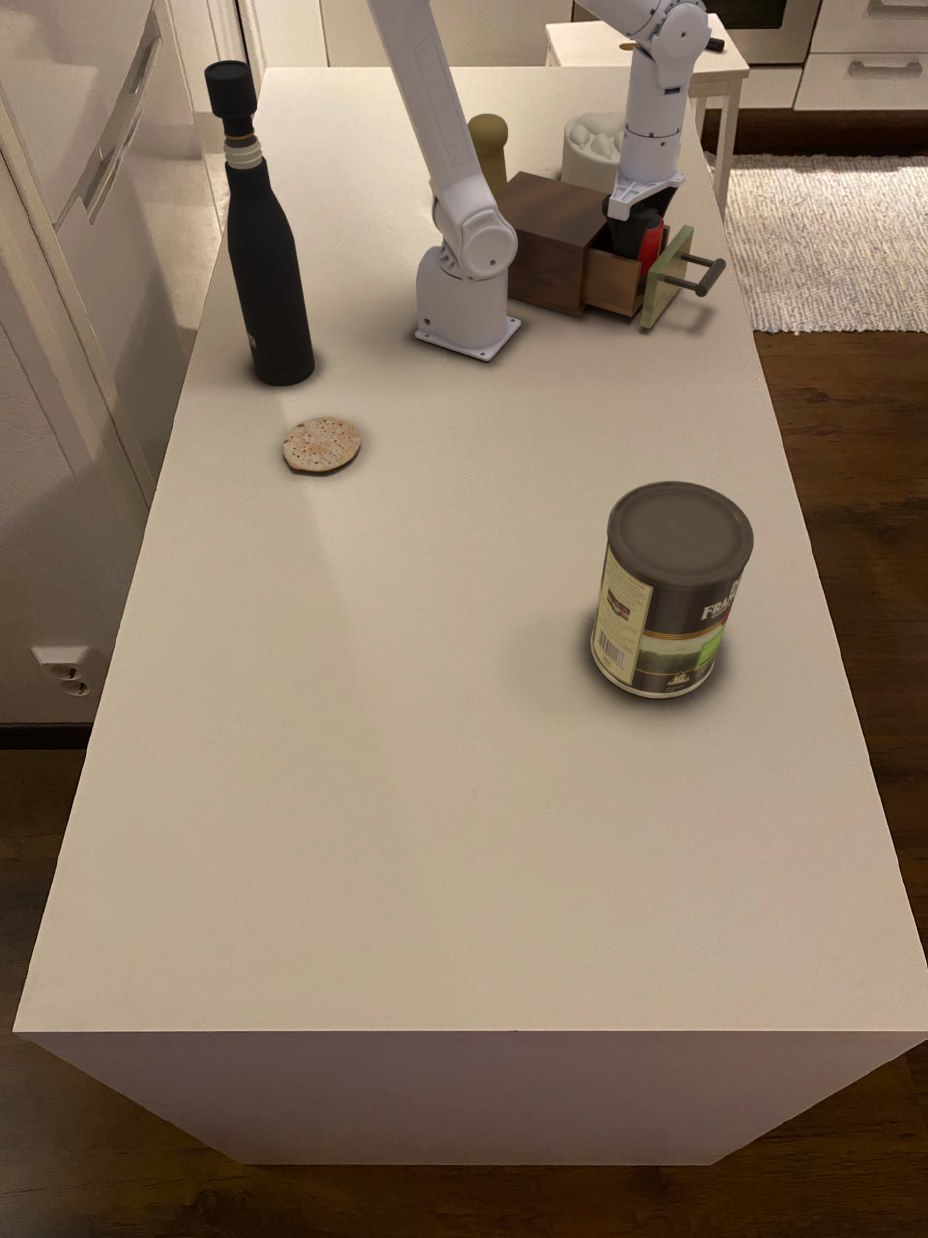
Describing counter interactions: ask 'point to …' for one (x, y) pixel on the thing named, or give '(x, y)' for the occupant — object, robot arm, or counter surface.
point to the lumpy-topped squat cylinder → (593, 150)
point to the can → (651, 244)
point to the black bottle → (259, 237)
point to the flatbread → (321, 444)
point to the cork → (490, 148)
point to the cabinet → (550, 239)
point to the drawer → (643, 276)
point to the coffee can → (668, 586)
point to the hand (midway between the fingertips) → (635, 251)
